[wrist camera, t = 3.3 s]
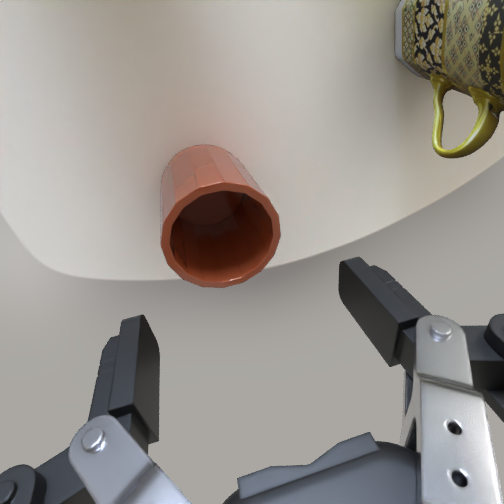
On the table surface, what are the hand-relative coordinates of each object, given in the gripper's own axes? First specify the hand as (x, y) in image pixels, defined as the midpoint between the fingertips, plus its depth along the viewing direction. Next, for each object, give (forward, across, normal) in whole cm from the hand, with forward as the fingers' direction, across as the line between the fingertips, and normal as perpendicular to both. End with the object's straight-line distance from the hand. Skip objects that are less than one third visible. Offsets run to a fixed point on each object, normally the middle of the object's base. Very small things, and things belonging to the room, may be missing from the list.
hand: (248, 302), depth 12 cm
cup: (+13, 0, 0) cm, 13 cm away
